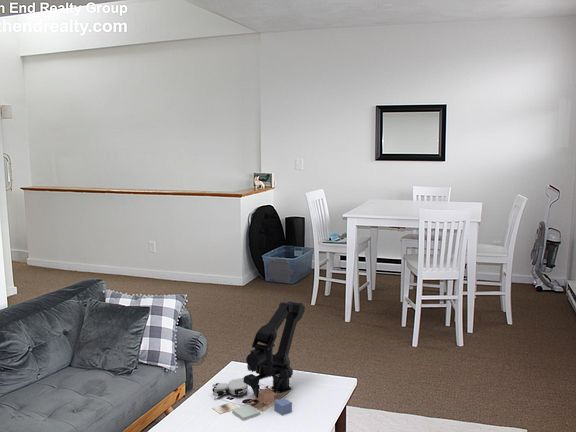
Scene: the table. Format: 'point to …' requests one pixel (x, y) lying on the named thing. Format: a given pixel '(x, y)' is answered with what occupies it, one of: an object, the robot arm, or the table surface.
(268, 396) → the terracotta brick
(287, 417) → the table surface
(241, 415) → the grey baseplate
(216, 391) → the robot toy
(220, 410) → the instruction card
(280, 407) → the navy brick
